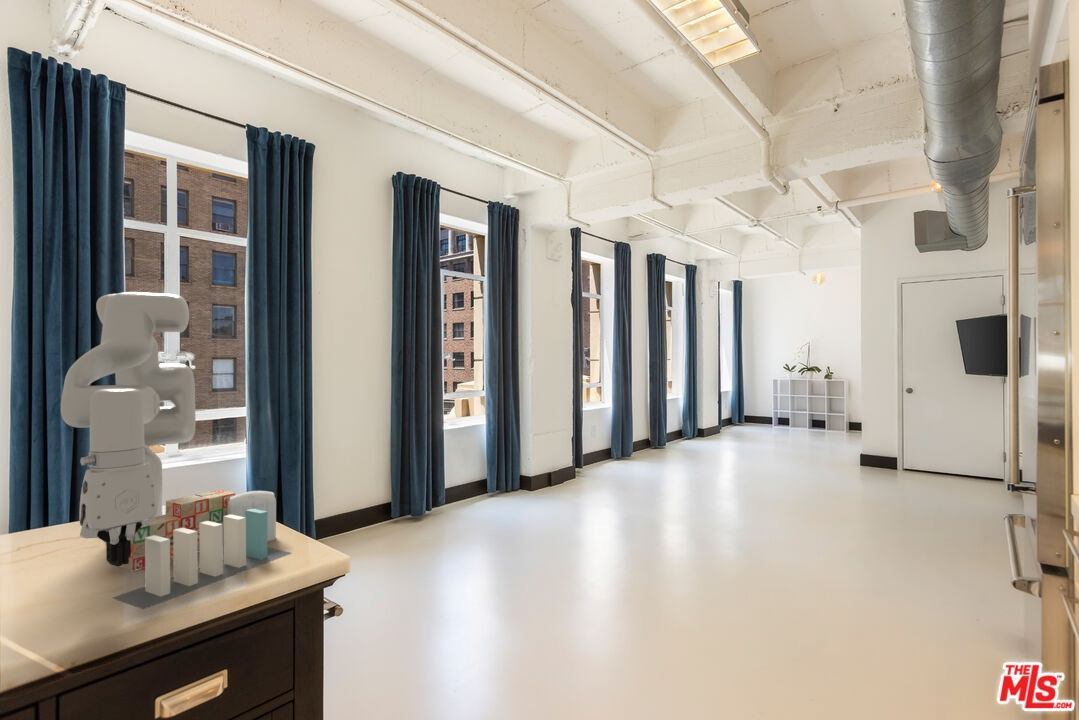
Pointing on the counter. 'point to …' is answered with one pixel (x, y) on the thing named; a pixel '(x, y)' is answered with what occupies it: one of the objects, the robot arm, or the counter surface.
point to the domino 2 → (185, 556)
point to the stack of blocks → (179, 521)
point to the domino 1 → (157, 565)
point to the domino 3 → (211, 548)
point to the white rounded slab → (255, 507)
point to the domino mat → (176, 589)
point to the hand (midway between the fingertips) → (118, 563)
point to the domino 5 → (256, 533)
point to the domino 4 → (234, 540)
